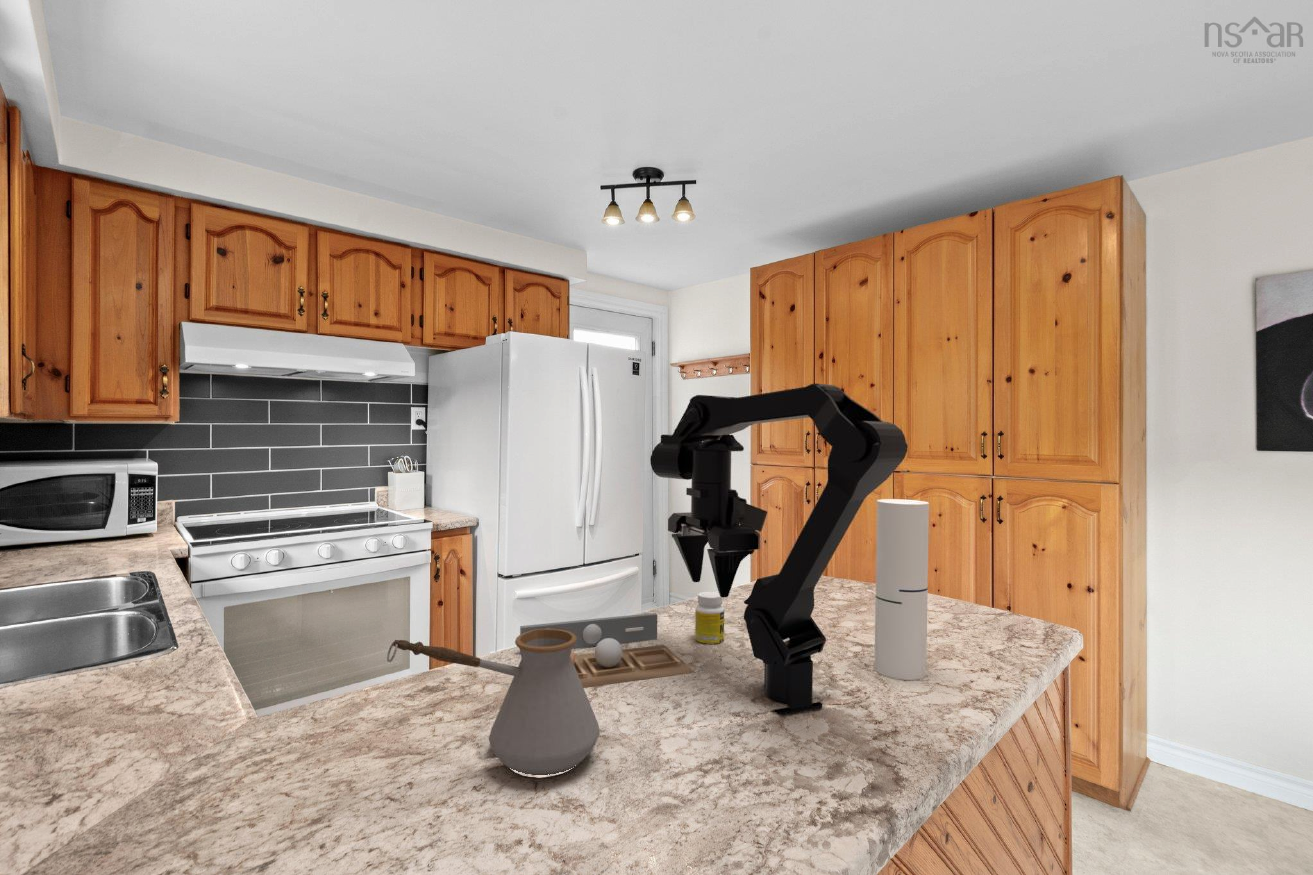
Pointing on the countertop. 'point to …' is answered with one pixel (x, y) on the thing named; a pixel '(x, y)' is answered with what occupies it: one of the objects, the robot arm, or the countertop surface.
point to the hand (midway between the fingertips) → (709, 589)
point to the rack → (631, 666)
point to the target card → (605, 629)
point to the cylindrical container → (901, 588)
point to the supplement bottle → (709, 619)
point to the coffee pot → (534, 703)
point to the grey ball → (608, 652)
